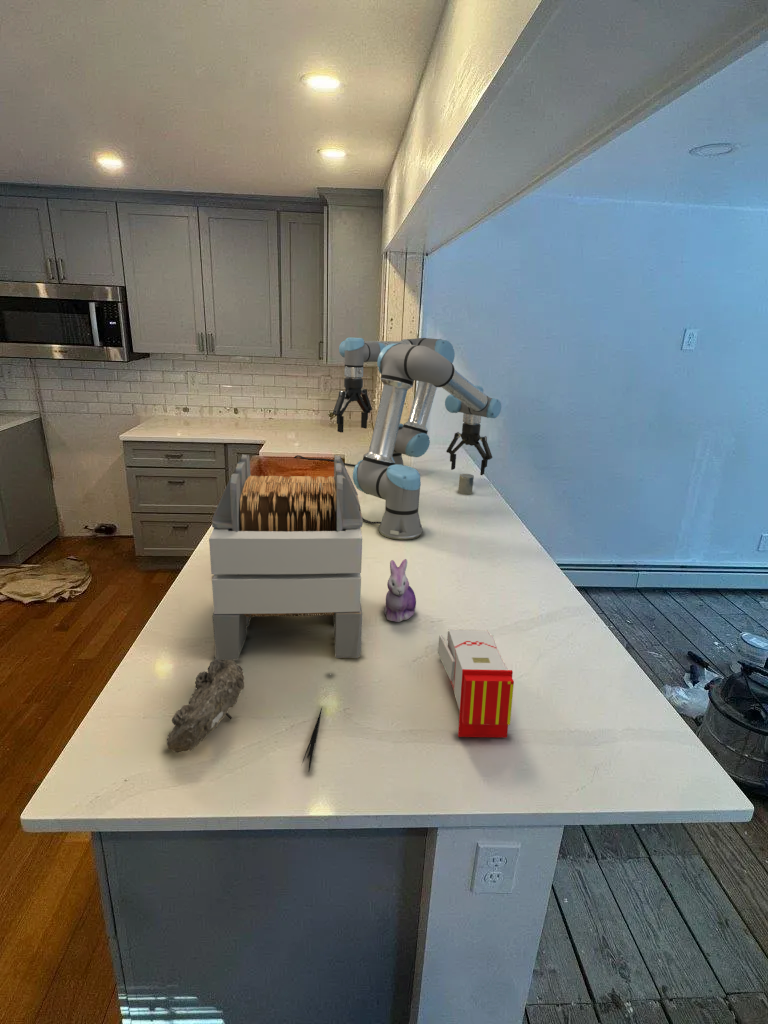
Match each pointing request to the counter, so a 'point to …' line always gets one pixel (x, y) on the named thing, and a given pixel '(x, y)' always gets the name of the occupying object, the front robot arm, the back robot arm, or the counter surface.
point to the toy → (478, 682)
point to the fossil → (206, 705)
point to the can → (465, 484)
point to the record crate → (286, 555)
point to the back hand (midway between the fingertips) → (352, 430)
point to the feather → (313, 740)
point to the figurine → (399, 594)
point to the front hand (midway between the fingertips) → (467, 471)
